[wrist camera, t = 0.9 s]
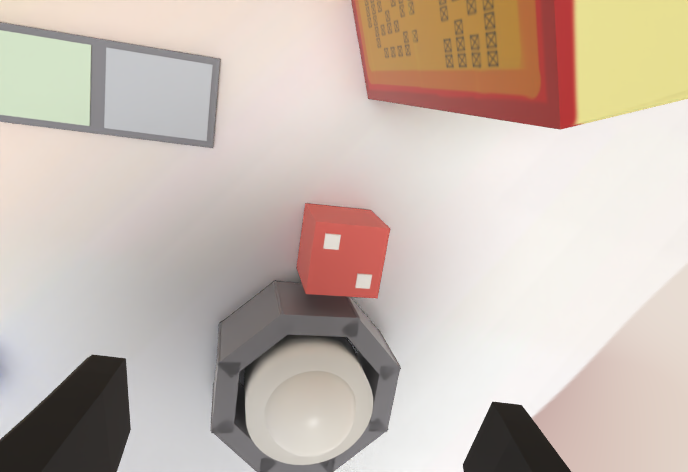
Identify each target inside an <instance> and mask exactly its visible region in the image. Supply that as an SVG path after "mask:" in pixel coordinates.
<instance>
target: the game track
mask: <svg viewBox="0 0 688 472" xmlns="http://www.w3.org/2000/svg"><path fill="white" fill-rule="evenodd" d="M219 68H220V59H217V58H211V57H205V56H199V55H193V54H187V53H181V52H175V51H169V50H163V49H157V48H151V47H145V46H139V45H133V44H127V43H121V42H115V41H109V40H103V39H97V38H91V37H85V36H79V35H73V34H67V33H61V32H55V31H49V30H43V29H37V28H31V27H25V26H19V25H13V24H7V23H1V22H0V122H8V123H16V124H24V125H32V126H40V127H48V128H56V129H64V130H72V131H80V132H88V133H96V134H104V135H112V136H120V137H128V138H136V139H144V140H152V141H161V142H169V143H177V144H185V145H193V146H201V147H209V148H213V141H214V129H215V117H216V104H217V92H218V80H219Z"/></svg>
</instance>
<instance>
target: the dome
mask: <svg viewBox="0 0 688 472" xmlns="http://www.w3.org/2000/svg"><path fill="white" fill-rule="evenodd" d="M244 391H245V414H246V426H247V429H248V433H249V435H250V437H251V439H252V441H253V442H254V444H255V445H256V446H257V447H258V448H259V449H260V451H262V452H263V453H264V454H266V455H267V456H269V457H270V458H272V459H274V460H277V461H279V462H283V463H286V464H292V465H311V464H316V463H320V462H324V461H327V460H329V459H332V458H334V457H336V456H338V455H340V454H342V453H343V452H344V451H346V450H347V449H349V448H350V447H351V446H352V445H353V444H354V443H355V442H356V441H357V440H358V439H359V438H360V437H361V435H362V434H363V433H364V431H365V429H366V428H367V426H368V424H369V421H370V419H371V415H372V411H373V395H372V390H371V387H370V384H369V382H368V380H367V378H366V375H365V373H364V371H363V369H362V367H361V364H360V362H359V360H358V358H357V355H356V353H355V351H354V349H353V347H352V346H351V344H350V343H349V342H348V341H347V340H346V339H345V338H344V337H336V336H311V335H287V336H285V337H284V338H283V339H281V340H280V341H279V342H278V343H276V344H275V345H274V346H272V347H271V348H270V349H268V350H267V351H266V352H265V353H263V354H262V355H261V356H259V357H258V358H257V359H256V360H254V361H253V362H252V363H250V364H249V365H248V366H246V369H245V374H244Z"/></svg>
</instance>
